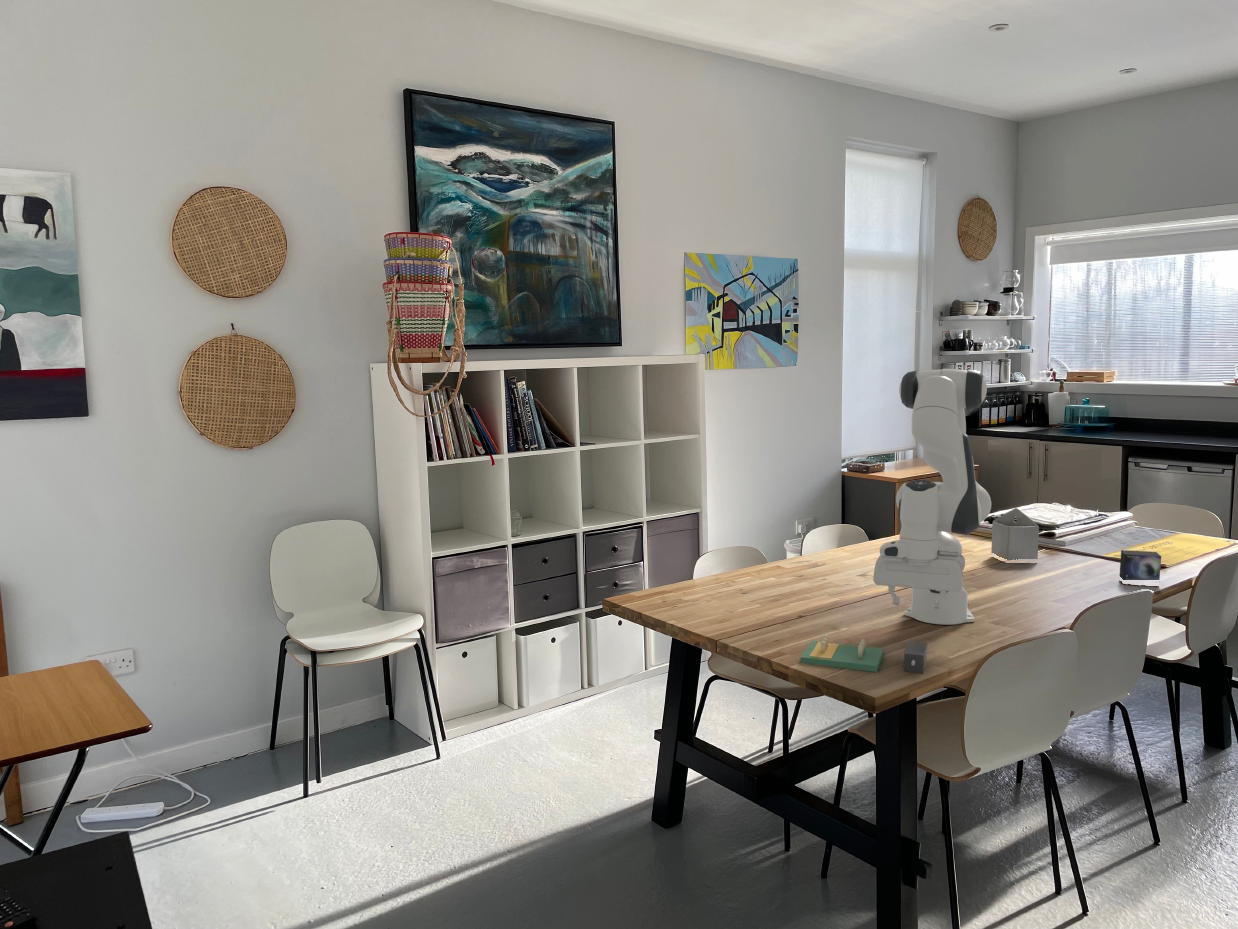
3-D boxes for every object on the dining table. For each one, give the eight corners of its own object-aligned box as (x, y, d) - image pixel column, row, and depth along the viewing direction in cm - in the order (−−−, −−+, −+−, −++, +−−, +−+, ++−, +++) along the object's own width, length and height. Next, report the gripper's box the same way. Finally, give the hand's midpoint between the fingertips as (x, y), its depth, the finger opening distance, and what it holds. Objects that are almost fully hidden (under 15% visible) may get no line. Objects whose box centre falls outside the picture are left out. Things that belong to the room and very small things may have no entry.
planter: (983, 560, 328) (985, 508, 326) (991, 557, 334) (993, 505, 332) (1030, 567, 317) (1032, 513, 315) (1037, 563, 323) (1040, 510, 321)
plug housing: (907, 658, 222) (908, 641, 221) (926, 660, 220) (926, 643, 219) (902, 674, 210) (903, 657, 209) (922, 677, 208) (922, 659, 208)
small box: (1123, 585, 290) (1124, 553, 289) (1118, 580, 296) (1120, 549, 295) (1160, 587, 287) (1162, 555, 286) (1154, 582, 293) (1156, 551, 292)
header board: (811, 646, 232) (811, 629, 231) (883, 654, 225) (884, 636, 224) (800, 663, 219) (800, 645, 218) (876, 672, 212) (877, 653, 211)
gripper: (965, 550, 212) (963, 607, 213) (876, 543, 220) (874, 599, 221) (965, 555, 206) (962, 613, 207) (873, 548, 214) (871, 605, 215)
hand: (916, 606), depth 214 cm, fingers open, 8 cm apart
